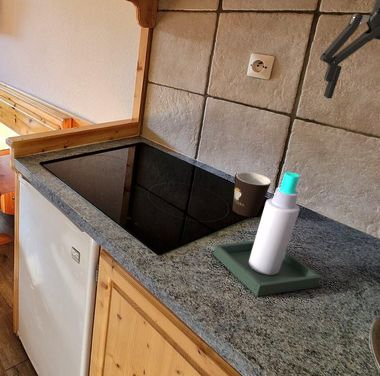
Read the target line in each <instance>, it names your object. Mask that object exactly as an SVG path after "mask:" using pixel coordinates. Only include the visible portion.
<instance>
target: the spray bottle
mask: <svg viewBox="0 0 380 376" xmlns="http://www.w3.org/2000/svg"><path fill="white" fill-rule="evenodd" d="M299 180H300V174H298V173H296V172H292V171H285V173H284V175H283V179H282V181H281V185H280V186H279V187H276V188H275V191H274V194H273V197H272V198H268V199H266V201H265V203H264V208H263V211H262V214H261V218H260V221H259V224H258V228H257V232H256V235H255V238H254V241H255V242H254V245H253V248H252V252H251V255H250V259H249V265H250V267H251V268H252V269H254V270H255V271H257V272H259V273H262V274H265V275H275V274H277V273H278V272H279V270H280V267H281V264H282V261H283V258H284V255H285V252H286V251H287V249H288V246H289V243H290V240H291V237H292V233H293V231H294V228H295V225H296V223H297V219H298V216H299V213H300V210H301V209H300V206H299V205H298V204H297V199H298V197H299V196H298V195H299V192H298V191H297V186H298V183H299Z"/></svg>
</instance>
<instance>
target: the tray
mask: <svg viewBox="0 0 380 376" xmlns="http://www.w3.org/2000/svg"><path fill="white" fill-rule="evenodd" d="M254 242H255V240H248V241H241V242H232V243H223V244H216V245H215V247H214V251H213V256H214V257H215V258H216V259H217V260H218V261H220V263H221V264H223V266H225V268H226V269H228V270H229V271H230V272H231V273H232V274H233V275H234V276H235V277H236V278H237V279H238V280H239V281H240V282H241V283H242V284H243V285H244V286H245V287H246V288H248V289H249V290H250V291H251V292H252V293H253V294H254V295H255V296H256V297H261V296H268V295H273V294H282V293H287V292H294V291H301V290H307V289H314V288H315V289H316V288H319V285H320V282H321V280H322V276H321V275H320V274H318V272H316V271H314V270H313V269H312V268H311V267H309V266H308V265H306V264H305V263H304V262H303V261H301V260H300V259H298V258H297V257H296V256H295V255H293V254H291V252H289V251H288V250H286V252H285V255H284V258H283V261H282V264H281V267H280V270H279V272H278V273H277V274H275V275H265V274H262V273H259V272H257V271H255V270H254V269H252V268H251V267H250V265H249V259H250V255H251V252H252V248H253V245H254Z"/></svg>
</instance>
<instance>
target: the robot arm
mask: <svg viewBox="0 0 380 376" xmlns="http://www.w3.org/2000/svg"><path fill="white" fill-rule="evenodd" d="M365 23H366V25H367V28H368V29H366V30H365V31H364V32H363V33H361V34H360V35H359V36H358V37H357V38H356V39H355V40H353V41H352V42H350V43H349V44H348V45H346V46H345V47H344V48H343V49H341V48H342V47H343V46H344V44H345V43H346V42H347V41H348V40H349V39H350V38H351V37H352V36H353V34H354V33H356V31H357V30H358V28H360V27H363V25H364V24H365ZM374 39H375V40H377V41H379V40H380V0H375V2H374V5H373V7H372V11H371V12H370V14H369V15H363V14H361V13H353V14H352V15H351V16H350V18H349V21H348V23H347V25H346V26H345V27H344V28H343V30H342V31H341V32H340V33H339V34H338V36H337V37H336V38H335V39H334V40H333V41H332V42H331V43H330V44H329V46H328V47H327V48H326V49H325V50H324V51H323V52H322V54H321V55H320V56H319V60H320V61H322V62H324V63H326V64H327V67H326V70H325V74H324V81H326V82H327V84H326V86H325V90H324V93H323V97H325V98H326V99H331V100H332V99H333V96H334V92H335V89H336V87H337V83H338V81H339V77H340V75H341V71H342V68H343V66H341V65H340V64H341V63H342V62H344V61H345V60H346V59H348V58H349V57H350V56H352V54H354V53H356V52H357V51H358V50H360V49H361V48H362V47H364V46H365V45H366V44H368V43H370V42H371V41H373V40H374ZM340 49H341V50H340ZM339 50H340V51H339ZM338 51H339V52H338Z"/></svg>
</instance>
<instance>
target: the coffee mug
mask: <svg viewBox="0 0 380 376" xmlns="http://www.w3.org/2000/svg"><path fill="white" fill-rule="evenodd" d="M233 178H234V179H233V183H234V192H233V202H232V211H233V212H234V213H236V214H237V215H239V216H242V217H249V218H253V217H257V216H258V214H259V212H260V209H261V207H262V205H263V203H264V200H265V198H266V196H267V193H268V191H269V188H270V187H271V184H272V180H271V178H269V177H268V176H266V175H263V174H260V173H256V172H250V171H242V172H237V173H235V175H234V177H233Z"/></svg>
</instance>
